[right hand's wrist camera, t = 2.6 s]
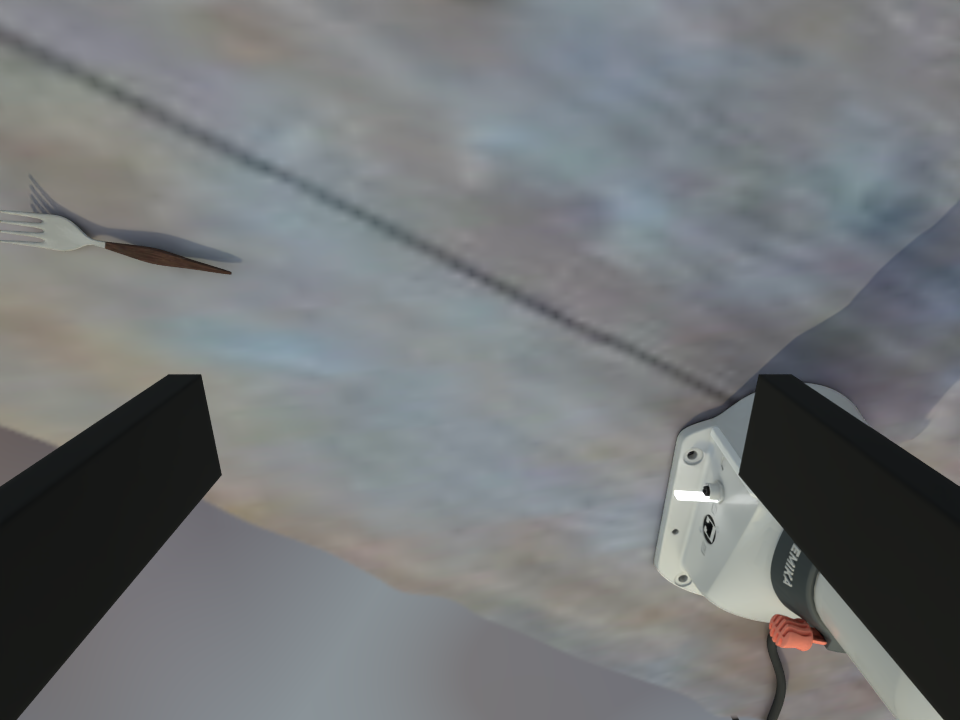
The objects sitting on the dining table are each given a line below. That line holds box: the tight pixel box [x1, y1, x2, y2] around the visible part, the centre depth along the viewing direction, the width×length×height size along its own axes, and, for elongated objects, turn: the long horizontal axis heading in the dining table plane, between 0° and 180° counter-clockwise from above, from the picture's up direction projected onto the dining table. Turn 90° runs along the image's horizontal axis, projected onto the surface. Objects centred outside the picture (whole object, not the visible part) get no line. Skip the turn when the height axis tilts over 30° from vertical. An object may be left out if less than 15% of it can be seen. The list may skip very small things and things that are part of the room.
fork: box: [0, 210, 232, 274], centre depth 37 cm, size 3×16×2 cm, turn 76°
